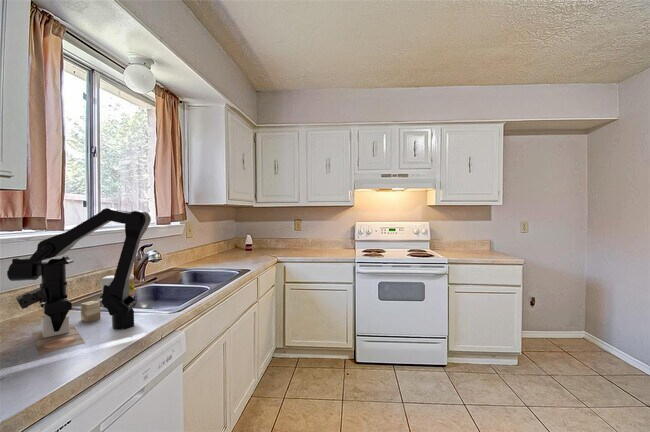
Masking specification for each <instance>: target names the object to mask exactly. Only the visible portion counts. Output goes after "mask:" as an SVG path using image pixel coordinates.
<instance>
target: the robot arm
mask: <svg viewBox="0 0 650 432" xmlns="http://www.w3.org/2000/svg"><path fill="white" fill-rule="evenodd" d="M151 221H152V217H151V215H150V214H149V213H148V212H147V211H144V210H134V211H133V210H132V211H128V210H122V209H121V210H120V209H116V208H114V207H113V208H111V207H107V208H104V209H102V210H101V211H100V212H98V213H97V214H95V215H93V216H91V217H89V218H88V219H86V220H84V221H82V222H81V223H79V224H77V225H76V226H73V227H72V228H71V229H69V230H67V231H66V232H61V233H58V234H57V235H54V236H51V237H48V238H45V239H43V240H40V242H38V243H37V247H36V250H35V252H33V253H32V255H31V256H30V257H29V258H23V257H16V258H13V259H12V260H11V261H12V262H11V264H9V267H8V269H7V271H6V274H7V275H6V276H7V279H8V280H9V281H11V282H19V281H20V282H21V281H22V282H23V281H24V282H25V281H36V280H38V279H39V278H40V277H41V282H40V283H39V287H38V288H36V289H33V290H30V291H28V292H26V293H22V294H20V295H18V296H16V298H15V300H16V302H17V303H18V305H19V306H20V309H22V310H24V309H26V308H28V307H30V306H31V305H35V304H36V303H39V306H40V307H41V308H42V309H43V311H42V312H43V314H44V316H47V315H48V316H50V318H51V322H52V325H53V329H54V332H57V331H59V330H60V328H61V326H62V324H63V322H64V320H65V317H66V316H67V314H68V313H69V312H70V311H71V310H72V308H73V303H72V302H71V300H69V299H68V293H67V286H68V281H67V278H66V277H67V276H66V275H67V270H66V265H70V264H73V263H74V261H75V260H74V259H72V258H70V257H69V255H65V254H66V253H67V252H69V250H71V249H72V248H73V247H74V246H75V245H76V244H77V243H78V242H79V241H80V240H81V239H84V238H85V237H87V236H89V235H91V234H92V233H94V232H95V231H97V230H98V229H101V228H103V227H104V226H106V225H107V224H109V223H110V222H113V223H114V222H115V223H118V224H123V225H124V232H125V233H124V235H125V238H124V242H123V245H122V250H121V252H120V256H119V259H118V262H117V266H116V269H115V271H114V275H115V276H114V279H113V281H111V282H109V283H107V284H106V285H104V288H103V294H102V293H101V295H100V297H99V298H100V299H101V305H103V306H104V307H103V308H105V309H107V311H108V314H109V315H110V316H112V317H111V319H112V320H111V323H112V324H111V325H112V329H113V330H117V331H118V330H121V331H122V330H127V329H130V328H133V327H135V311H134V310H135V309H134V307H136V304H137V302H138V301H137V299H135V298H134V297H131V296H130V295H129V290H130V285H129V277H130V274H132V272H131V270H133V266H134V262H135V259H136V256H137V252H138V250H139V245H140V242H141V239H142V238H143V237H144V236H143V235H144V234H145V233H146V231H147V229H148V227H150V223H151ZM63 255H64V256H63ZM59 256H60V258H55V257H59ZM61 256H62V257H61ZM43 261H44V262H43ZM68 315H69V314H68Z"/></svg>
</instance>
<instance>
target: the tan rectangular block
mask: <svg viewBox="0 0 650 432" xmlns="http://www.w3.org/2000/svg"><path fill="white" fill-rule="evenodd" d="M80 319H81V320H80V321H82V322H86V323H89V322H93V321H97V320H100V319H101V301H97V300H91V301H86V302H82V303H80Z"/></svg>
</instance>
